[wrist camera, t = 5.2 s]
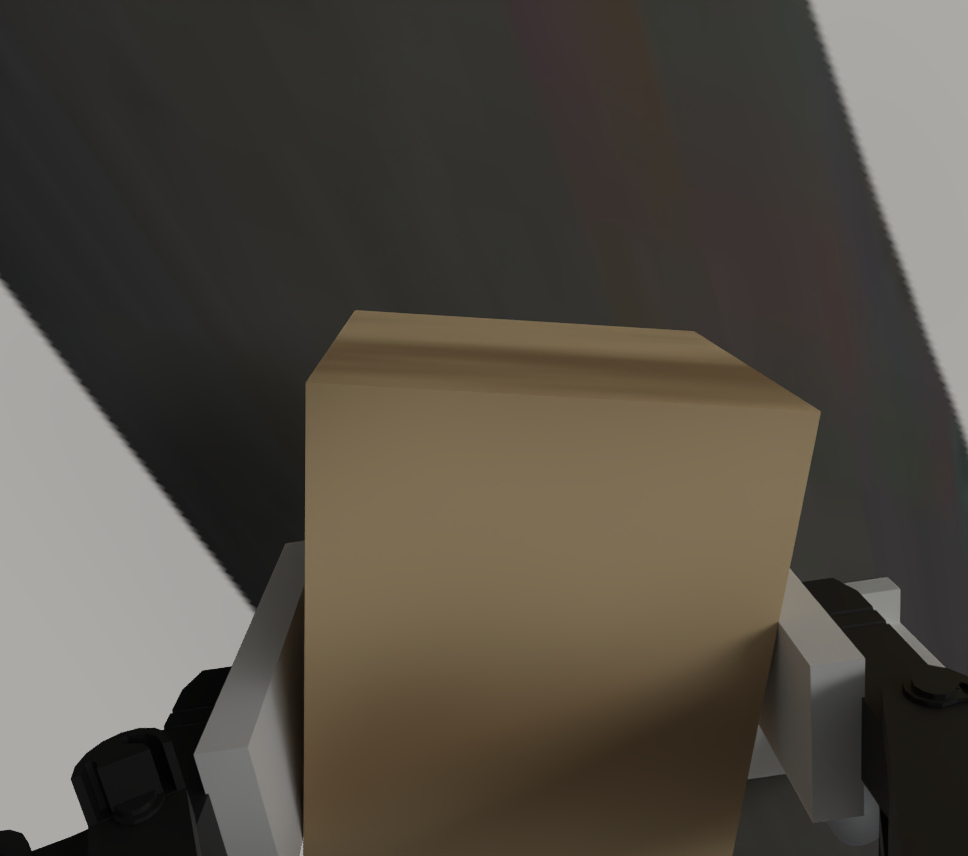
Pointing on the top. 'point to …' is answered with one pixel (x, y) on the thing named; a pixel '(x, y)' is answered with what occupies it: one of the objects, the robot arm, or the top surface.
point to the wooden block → (539, 586)
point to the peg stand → (864, 827)
